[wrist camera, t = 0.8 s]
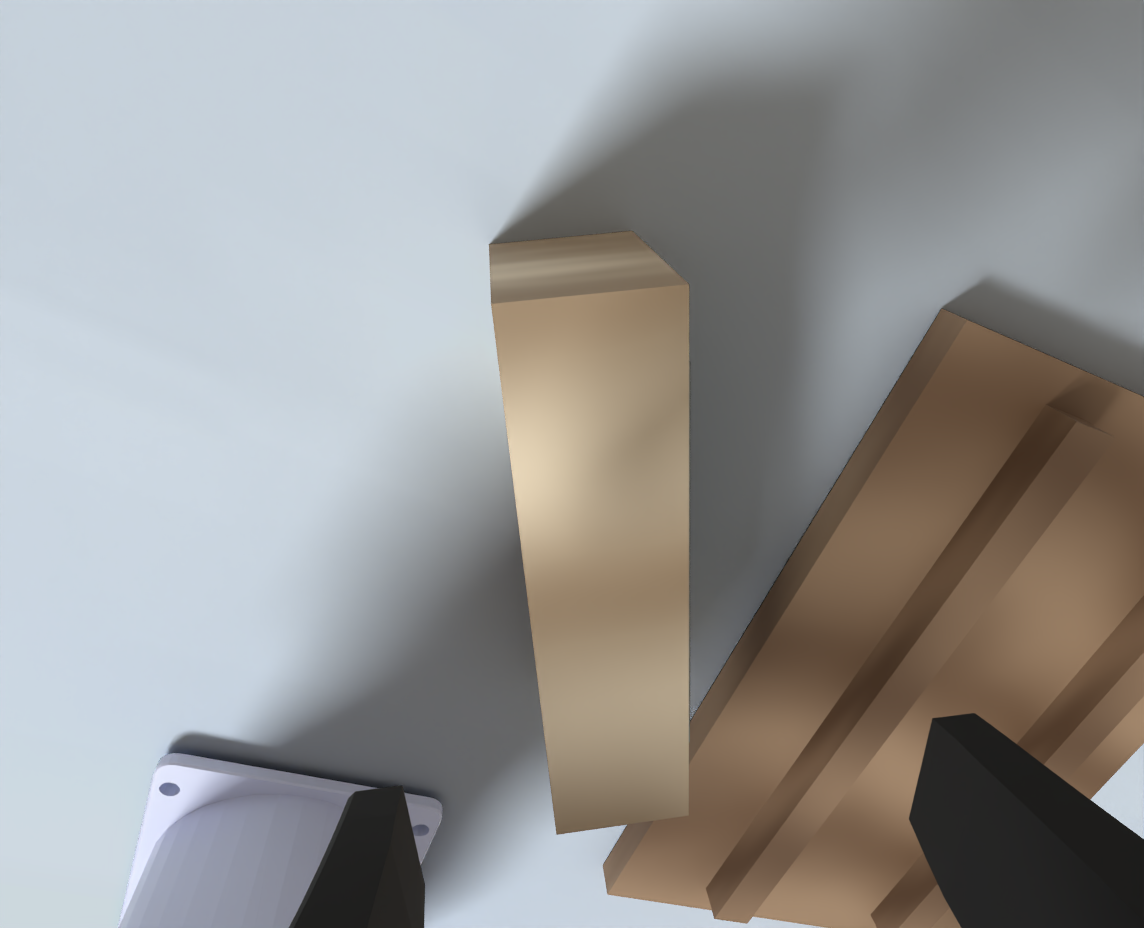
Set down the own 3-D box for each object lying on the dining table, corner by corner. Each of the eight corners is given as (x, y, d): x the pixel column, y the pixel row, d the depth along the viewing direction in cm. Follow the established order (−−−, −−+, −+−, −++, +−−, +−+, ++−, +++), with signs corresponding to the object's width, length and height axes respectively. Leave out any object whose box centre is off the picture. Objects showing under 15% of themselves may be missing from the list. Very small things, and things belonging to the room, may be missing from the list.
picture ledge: (935, 919, 28) (966, 974, 26) (602, 865, 25) (612, 925, 23) (1337, 480, 21) (1418, 517, 19) (942, 308, 17) (995, 333, 15)
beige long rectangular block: (652, 662, 21) (697, 814, 17) (540, 676, 21) (556, 834, 16) (640, 228, 16) (702, 283, 11) (488, 242, 15) (491, 304, 11)
